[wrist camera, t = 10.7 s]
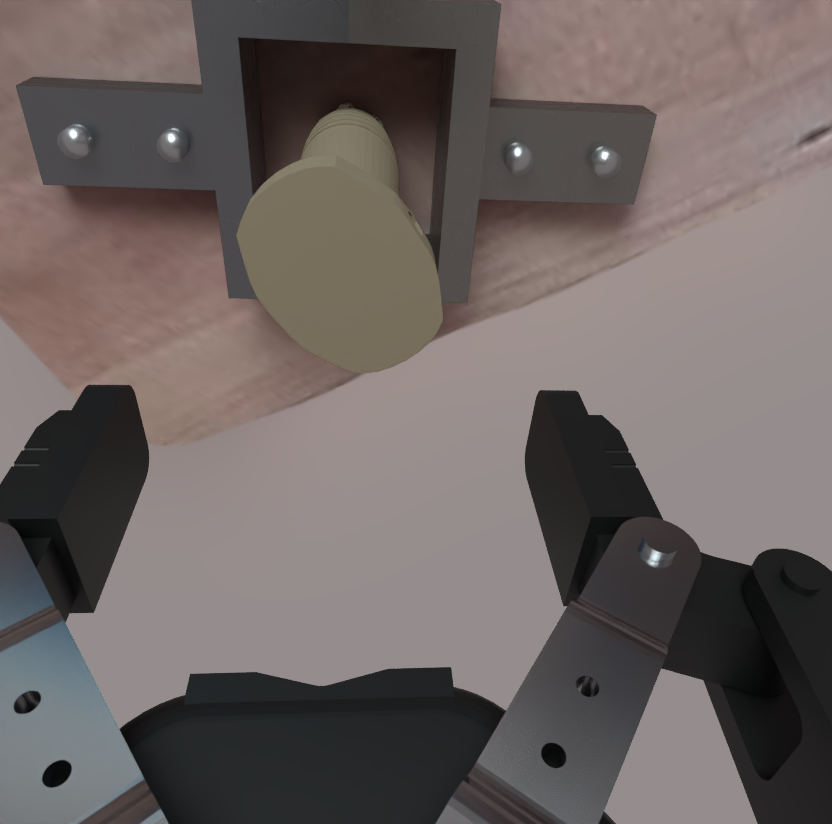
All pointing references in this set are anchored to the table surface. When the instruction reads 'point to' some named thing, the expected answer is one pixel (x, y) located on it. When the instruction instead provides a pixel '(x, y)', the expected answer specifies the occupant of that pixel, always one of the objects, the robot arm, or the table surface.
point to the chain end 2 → (501, 130)
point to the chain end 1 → (179, 116)
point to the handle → (343, 249)
